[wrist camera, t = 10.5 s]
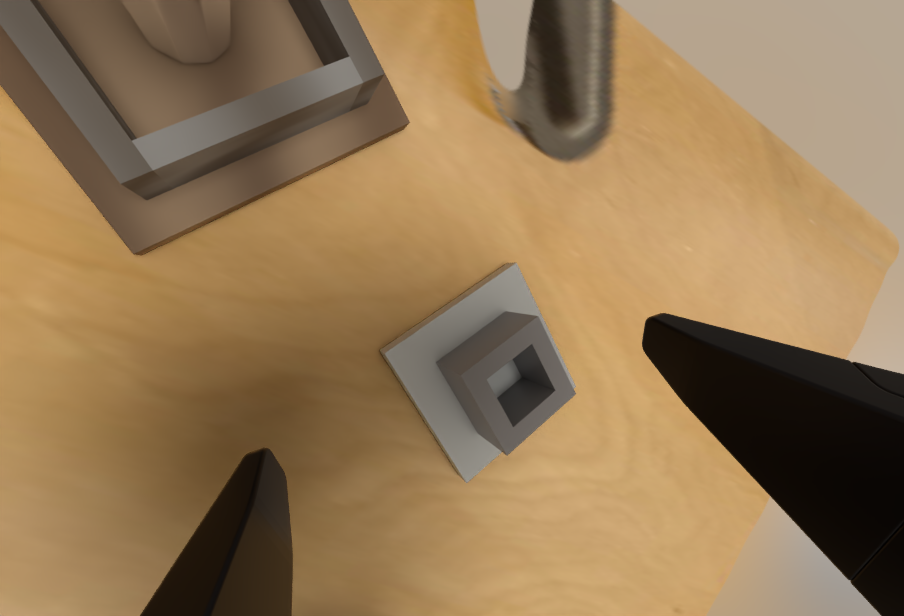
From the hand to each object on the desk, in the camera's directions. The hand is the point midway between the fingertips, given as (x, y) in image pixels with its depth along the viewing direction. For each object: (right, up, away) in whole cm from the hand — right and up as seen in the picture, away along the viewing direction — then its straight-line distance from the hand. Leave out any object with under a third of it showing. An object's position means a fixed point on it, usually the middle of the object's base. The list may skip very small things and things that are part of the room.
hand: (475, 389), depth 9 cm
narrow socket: (+1, -2, +14) cm, 14 cm away
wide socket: (-11, +13, +7) cm, 19 cm away
